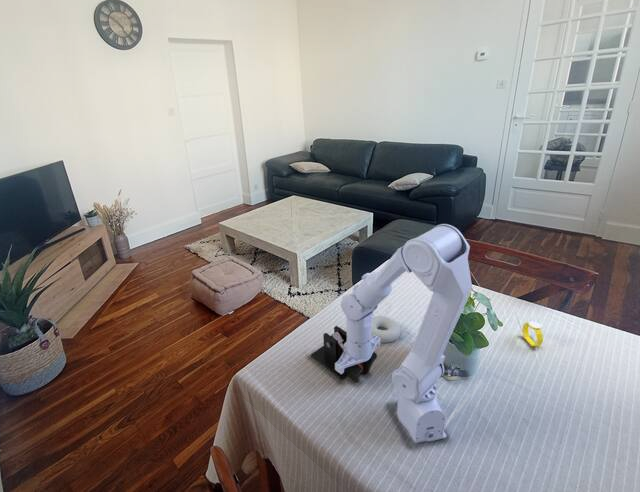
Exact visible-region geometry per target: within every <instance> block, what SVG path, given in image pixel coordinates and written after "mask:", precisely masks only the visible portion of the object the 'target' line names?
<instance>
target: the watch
mask: <svg viewBox="0 0 640 492" xmlns="http://www.w3.org/2000/svg"><path fill="white" fill-rule="evenodd" d="M529 328H530V329H532V330H534V332H535V335H536V341H534V340H533V339H532V338H531V336H530V333H529ZM521 329H522V335H523V339H524V340H526V342H527V343H528V344H529V345H530V346H531V347H540V346H542V345H543V342H544V336H543V331H542V324H541V323H539V322H537V321H533V320H530V321H527V322H525V323H524V324H523V326H522V328H521Z"/></svg>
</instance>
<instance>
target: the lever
mask: <svg viewBox="0 0 640 492" xmlns="http://www.w3.org/2000/svg"><path fill="white" fill-rule="evenodd" d="M330 336H332V337H333V338H335V339H336V340H337V341H338V347H339V348H340V350H341V351H342V352H344V350H345V349H346V347H344V345H343V343H342V342H343V341H344V339H343V338H342V337H341V335H340V334H339V333H338V331H337V332H335V333H334V332H333V333H332V334H331V335H330ZM357 365H358V366H360V367H361V368H362V370H361V372H360V374H361V373H363V372H362V371H363V364H362V363H359V364H357Z"/></svg>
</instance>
